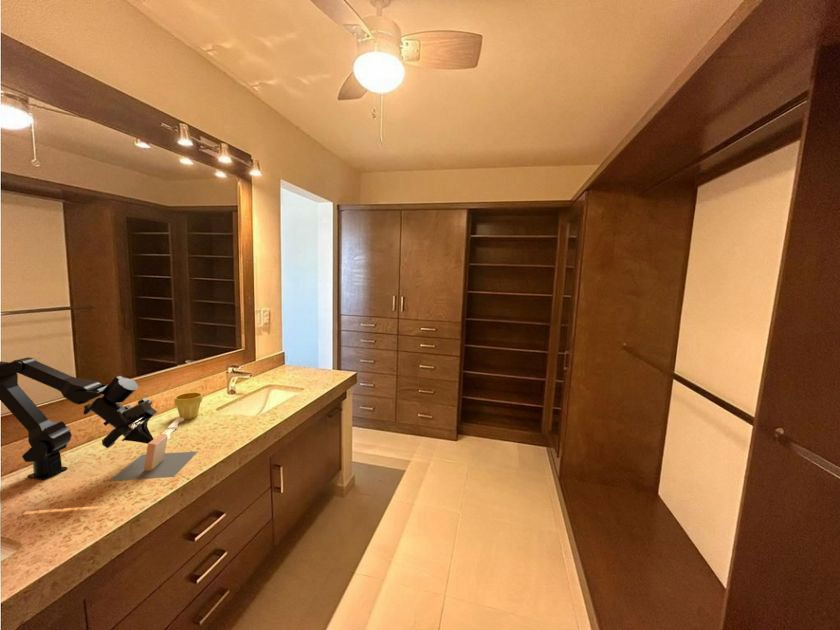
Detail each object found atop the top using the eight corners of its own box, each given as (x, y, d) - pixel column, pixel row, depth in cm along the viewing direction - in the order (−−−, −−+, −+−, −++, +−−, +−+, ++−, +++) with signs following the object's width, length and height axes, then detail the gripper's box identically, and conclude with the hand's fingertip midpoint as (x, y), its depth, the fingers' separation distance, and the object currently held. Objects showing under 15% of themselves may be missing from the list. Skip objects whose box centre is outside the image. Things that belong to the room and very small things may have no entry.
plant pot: (207, 412, 159) (206, 392, 158) (193, 421, 149) (192, 399, 148) (185, 412, 159) (184, 391, 158) (169, 421, 148) (168, 399, 147)
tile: (143, 470, 109) (148, 443, 108) (156, 458, 116) (160, 433, 115) (151, 470, 109) (156, 444, 109) (164, 459, 116) (168, 434, 116)
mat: (108, 482, 103) (108, 480, 103) (141, 456, 119) (141, 454, 119) (174, 478, 107) (173, 476, 107) (198, 453, 122) (198, 451, 122)
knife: (167, 450, 123) (141, 452, 120) (167, 455, 123) (142, 457, 121) (197, 415, 151) (176, 417, 149) (197, 419, 151) (176, 420, 149)
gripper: (110, 404, 100) (154, 438, 103) (149, 385, 118) (185, 414, 121) (81, 431, 100) (127, 464, 103) (125, 408, 118) (162, 436, 121)
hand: (153, 442), depth 112 cm, fingers closed
